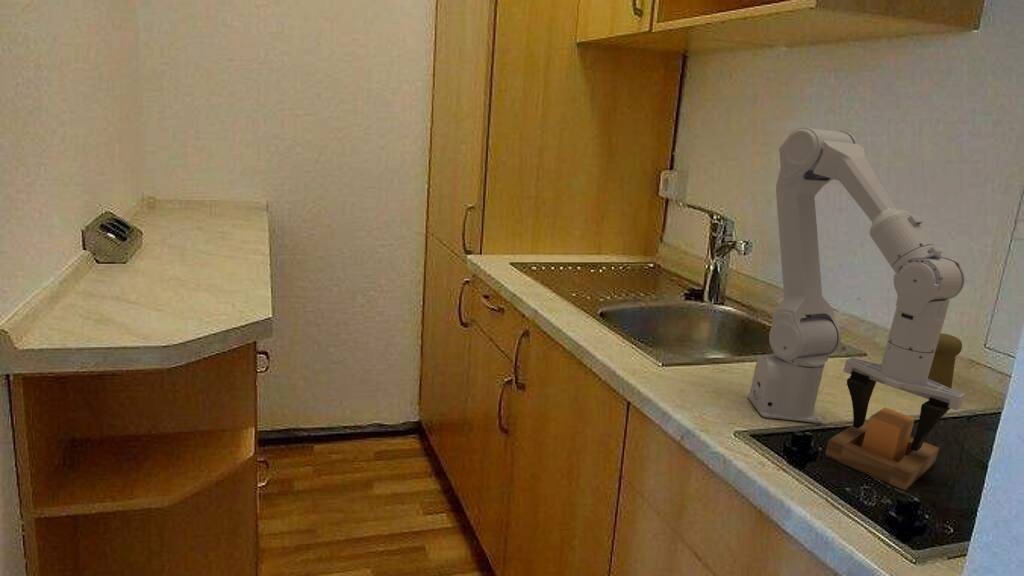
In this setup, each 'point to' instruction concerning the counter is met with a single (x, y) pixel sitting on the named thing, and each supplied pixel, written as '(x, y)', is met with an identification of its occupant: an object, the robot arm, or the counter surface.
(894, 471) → the well
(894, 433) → the tall wooden block
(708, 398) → the counter surface
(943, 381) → the cork
